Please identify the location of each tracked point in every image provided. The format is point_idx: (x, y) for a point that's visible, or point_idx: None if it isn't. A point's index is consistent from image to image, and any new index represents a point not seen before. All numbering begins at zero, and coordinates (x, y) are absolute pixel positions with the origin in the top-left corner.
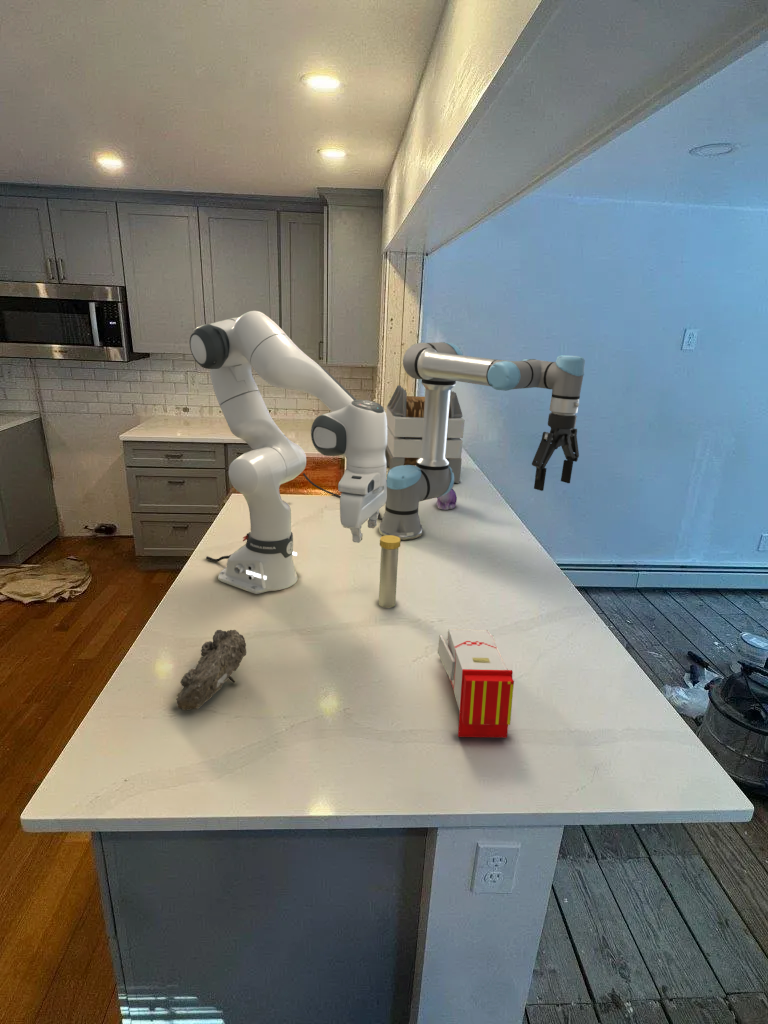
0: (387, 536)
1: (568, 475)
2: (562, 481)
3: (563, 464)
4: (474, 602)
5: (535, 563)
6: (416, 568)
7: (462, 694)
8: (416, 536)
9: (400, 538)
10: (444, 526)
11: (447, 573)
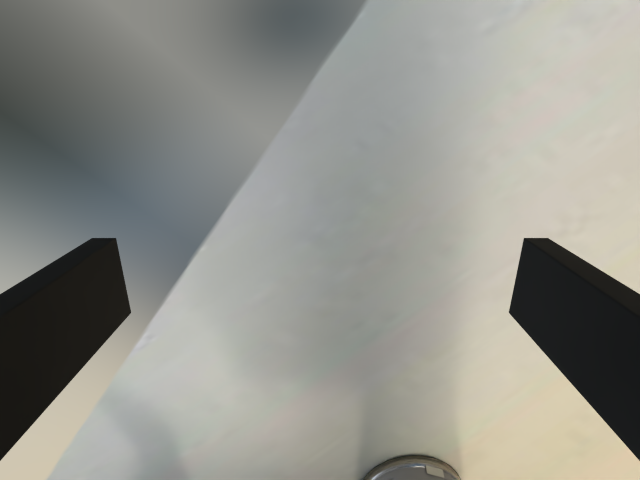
0: None
1: (73, 284)
2: (127, 296)
3: (15, 440)
4: (624, 149)
5: (275, 200)
6: None
7: None
8: (411, 459)
9: (451, 469)
10: (291, 467)
11: None
